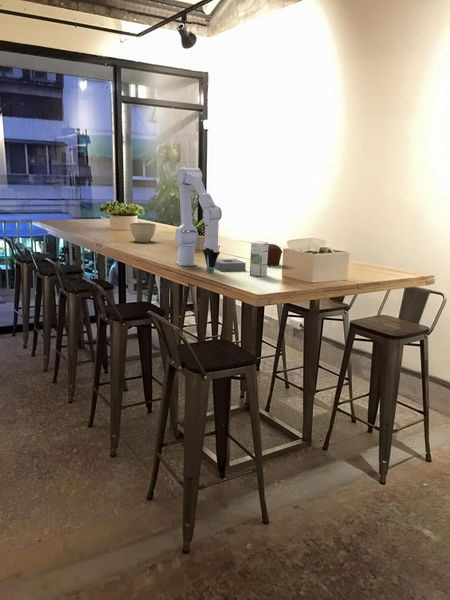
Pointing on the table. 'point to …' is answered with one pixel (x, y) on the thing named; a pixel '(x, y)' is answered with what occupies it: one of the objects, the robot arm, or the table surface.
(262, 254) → the syrup box
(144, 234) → the planter bowl
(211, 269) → the pin
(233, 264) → the socket block
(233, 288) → the table surface
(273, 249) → the muffin
